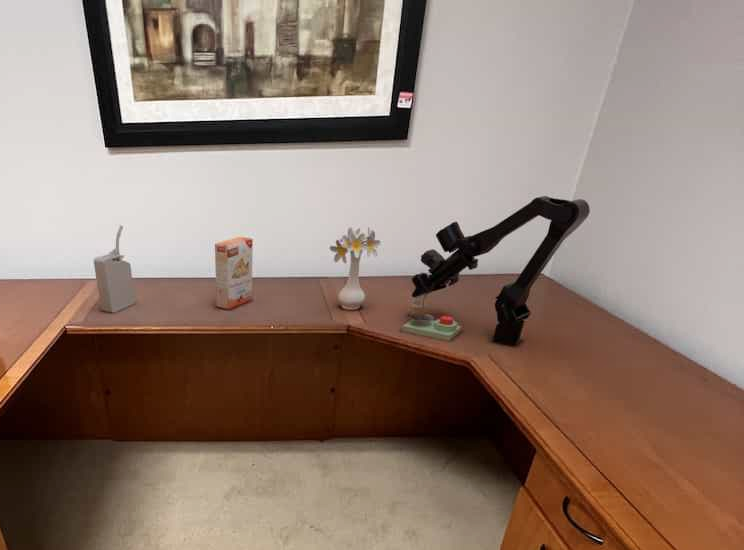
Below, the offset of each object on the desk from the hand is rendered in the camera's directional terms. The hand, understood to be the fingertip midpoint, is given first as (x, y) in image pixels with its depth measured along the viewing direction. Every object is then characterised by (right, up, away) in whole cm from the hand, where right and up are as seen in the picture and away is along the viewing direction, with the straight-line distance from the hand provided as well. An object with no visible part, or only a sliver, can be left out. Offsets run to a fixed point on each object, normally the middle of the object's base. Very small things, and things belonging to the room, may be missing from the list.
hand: (416, 294), depth 182 cm
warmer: (+2, -15, -9) cm, 17 cm away
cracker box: (-60, +2, +16) cm, 62 cm away
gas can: (-101, +1, +15) cm, 102 cm away
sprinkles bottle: (+1, -6, +3) cm, 7 cm away
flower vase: (-20, -1, +11) cm, 22 cm away
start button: (+5, -14, -13) cm, 19 cm away
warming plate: (-1, -11, -9) cm, 14 cm away
